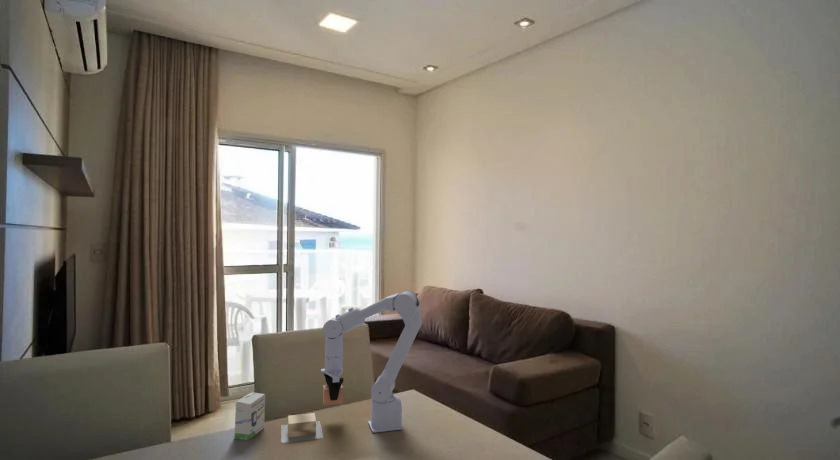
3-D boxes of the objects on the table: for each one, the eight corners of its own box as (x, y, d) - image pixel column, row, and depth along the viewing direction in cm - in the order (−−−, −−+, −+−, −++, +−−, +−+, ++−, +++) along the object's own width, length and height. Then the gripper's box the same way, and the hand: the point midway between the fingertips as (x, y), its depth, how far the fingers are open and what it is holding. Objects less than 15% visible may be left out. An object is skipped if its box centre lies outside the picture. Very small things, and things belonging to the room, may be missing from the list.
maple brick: (314, 425, 140) (314, 412, 140) (315, 434, 134) (316, 420, 134) (287, 428, 138) (288, 415, 138) (288, 437, 132) (288, 423, 132)
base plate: (319, 424, 144) (320, 420, 144) (323, 441, 132) (323, 437, 132) (280, 428, 140) (281, 425, 140) (281, 446, 128) (281, 443, 128)
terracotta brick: (341, 398, 147) (341, 383, 147) (342, 403, 144) (343, 387, 144) (322, 400, 146) (323, 385, 146) (324, 405, 142) (324, 389, 142)
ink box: (250, 429, 139) (250, 391, 139) (265, 431, 138) (265, 392, 138) (233, 442, 131) (234, 401, 131) (249, 444, 130) (250, 403, 130)
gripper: (319, 350, 150) (318, 390, 150) (323, 362, 136) (322, 407, 137) (340, 348, 152) (339, 388, 153) (346, 361, 139) (345, 404, 139)
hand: (333, 397), depth 145 cm, fingers closed on terracotta brick, 4 cm apart
